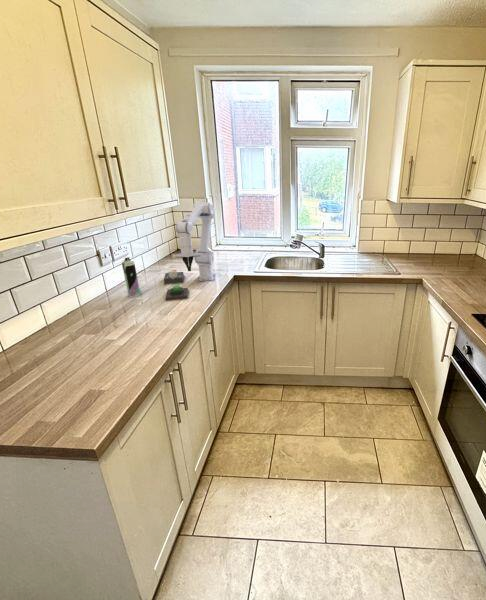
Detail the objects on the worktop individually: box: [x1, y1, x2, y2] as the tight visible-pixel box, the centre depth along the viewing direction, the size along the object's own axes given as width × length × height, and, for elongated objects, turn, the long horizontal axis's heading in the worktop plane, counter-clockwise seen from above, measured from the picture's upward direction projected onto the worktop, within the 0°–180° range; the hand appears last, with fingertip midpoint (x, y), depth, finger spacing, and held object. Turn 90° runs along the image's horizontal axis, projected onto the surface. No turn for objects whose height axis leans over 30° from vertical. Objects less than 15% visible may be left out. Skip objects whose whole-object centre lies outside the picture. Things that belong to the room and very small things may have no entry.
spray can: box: [121, 256, 142, 298], centre depth 158 cm, size 6×6×20 cm
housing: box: [165, 286, 189, 301], centre depth 162 cm, size 12×10×4 cm
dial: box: [167, 269, 178, 278], centre depth 180 cm, size 4×4×4 cm
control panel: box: [163, 271, 185, 285], centre depth 184 cm, size 13×10×3 cm
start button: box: [171, 285, 181, 291], centre depth 161 cm, size 4×4×2 cm
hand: (189, 270), depth 168 cm, fingers closed
